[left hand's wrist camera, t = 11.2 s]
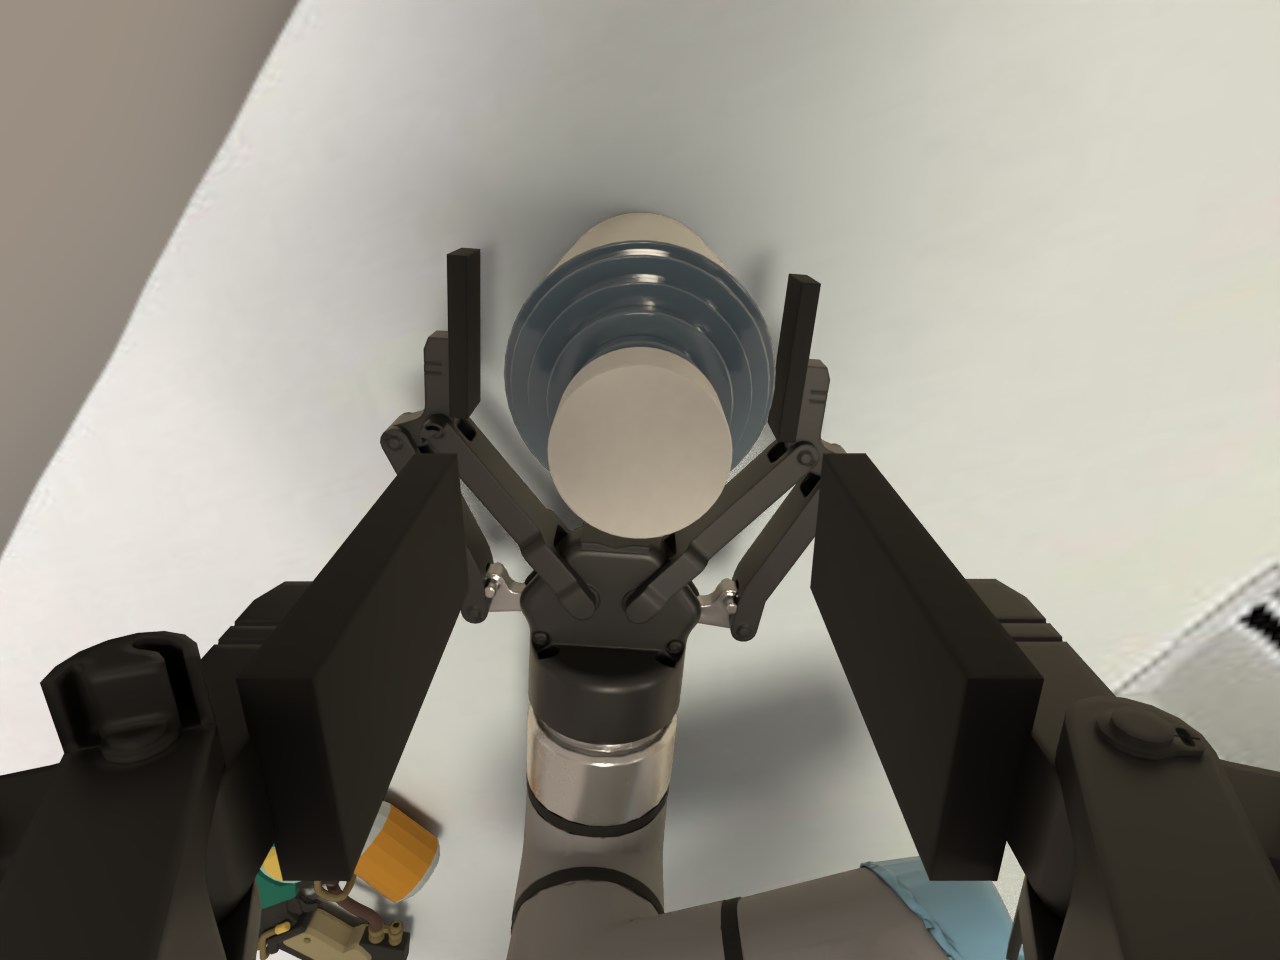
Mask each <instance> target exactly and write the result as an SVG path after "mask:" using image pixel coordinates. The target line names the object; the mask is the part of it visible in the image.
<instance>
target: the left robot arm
mask: <svg viewBox="0 0 1280 960" xmlns="http://www.w3.org/2000/svg"><path fill="white" fill-rule="evenodd" d="M469 588H470V586H469V575H468V565H467V554H466V543H465V532H464V522H463V511H462V500H461V490H460V479H459V468H458V458H457V453H414V455H413V456H412V457H411V458H410V460H409V461H408V462H407V464H406V465H405V466H404V467H403V469H402V470H401V471H400V472H399V474H398V475H397V476H396V477H395V479H394V480H393V481H392V482H391V484H390V485H389V486H388V487H387V489H386V490H385V491H384V492H383V494H382V495H381V496H380V498H379V499H378V500H377V501H376V503H375V504H374V505H373V506H372V508H371V509H370V510H369V511H368V513H367V514H366V515H365V516H364V518H363V519H362V520H361V521H360V523H359V524H358V525H357V526H356V528H355V529H354V530H353V532H352V533H351V534H350V535H349V537H348V538H347V539H346V540H345V542H344V543H343V544H342V545H341V547H340V548H339V549H338V550H337V552H336V553H335V554H334V555H333V557H332V558H331V559H330V560H329V562H328V563H327V564H326V566H325V567H324V568H323V569H322V571H321V572H320V573H319V574H318V576H317V577H316V578H315V579H314V581H285V582H283V583H282V584H280V585H278V586H277V587H275V588H273V589H272V590H270V591H268V592H267V593H265V594H263V595H262V596H260V597H258V598H257V599H255V600H254V601H253V602H252V603H251V604H250V605H249V606H248V607H247V609H246V610H245V611H244V612H243V613H242V614H241V615H240V616H239V618H238V619H237V620H236V621H235V625H234V626H230V628H229V629H228V630H227V631H226V632H225V633H224V634H223V635H222V636H221V638H220V639H219V640H218V641H219V642H218V645H213V647H212V648H211V649H210V650H209V651H208V652H207V653H206V654H205V655H204V657H203V658H202V659H201V658H200V654H199V650H198V646H197V643H196V642H194V641H193V640H192V639H190V638H189V637H188V636H186V635H184V634H179V633H173V632H167V631H158V632H144V633H135V634H131V635H127V636H123V637H119V638H115V639H110V640H107V641H105V642H102V643H100V644H97V645H95V646H92V647H90V648H87V649H85V650H82V651H80V652H78V653H76V654H75V655H73V656H72V657H70V658H68V659H67V660H65V661H64V662H62V663H60V664H59V665H57V666H55V667H54V669H53V670H52V671H51V672H50V673H49V674H48V675H47V676H46V677H45V678H44V679H43V680H42V681H41V682H40V685H41V687H42V690H43V693H44V696H45V699H46V702H47V705H48V708H49V710H50V713H51V716H52V719H53V722H54V725H55V728H56V731H57V733H58V736H59V739H60V742H61V745H62V748H63V751H64V755H63V757H62V759H61V761H60V763H57V764H54V765H49V766H45V767H40V768H35V769H30V770H25V771H20V772H16V773H11V774H6V775H1V776H0V960H256V953H257V945H258V937H259V929H260V921H261V913H262V907H261V901H260V894H259V889H258V885H257V881H256V875H257V874H258V872H259V870H260V868H261V866H262V864H263V863H264V861H265V859H266V857H267V855H268V853H269V852H270V850H271V848H272V846H273V844H274V845H275V850H276V854H277V858H278V863H279V867H280V871H281V875H282V880H283V881H350V880H351V878H352V875H353V873H354V871H355V868H356V866H357V863H358V861H359V858H360V856H361V853H362V851H363V848H364V846H365V844H366V841H367V839H368V836H369V834H370V831H371V829H372V826H373V824H374V821H375V819H376V817H377V814H378V812H379V809H380V807H381V804H382V802H383V799H384V797H385V794H386V792H387V790H388V787H389V785H390V782H391V780H392V777H393V775H394V772H395V770H396V767H397V765H398V763H399V760H400V758H401V755H402V753H403V750H404V748H405V745H406V743H407V740H408V738H409V736H410V733H411V731H412V728H413V726H414V723H415V721H416V718H417V716H418V713H419V711H420V709H421V706H422V704H423V701H424V699H425V696H426V694H427V691H428V689H429V686H430V684H431V682H432V679H433V677H434V674H435V672H436V669H437V667H438V664H439V662H440V659H441V657H442V654H443V652H444V650H445V647H446V645H447V642H448V640H449V637H450V635H451V632H452V630H453V627H454V625H455V623H456V620H457V618H458V615H459V613H460V610H461V608H462V605H463V603H464V600H465V598H466V596H467V593H468V591H469ZM810 588H811V591H812V593H813V596H814V598H815V600H816V603H817V605H818V608H819V610H820V613H821V615H822V618H823V620H824V623H825V625H826V627H827V630H828V632H829V635H830V637H831V640H832V642H833V645H834V647H835V650H836V652H837V654H838V657H839V659H840V662H841V664H842V667H843V669H844V672H845V674H846V677H847V679H848V682H849V684H850V686H851V689H852V691H853V694H854V696H855V699H856V701H857V704H858V706H859V709H860V711H861V713H862V716H863V718H864V721H865V723H866V726H867V728H868V731H869V733H870V736H871V738H872V740H873V743H874V745H875V748H876V750H877V753H878V755H879V758H880V760H881V763H882V765H883V767H884V770H885V772H886V775H887V777H888V780H889V782H890V785H891V787H892V790H893V792H894V794H895V797H896V799H897V802H898V804H899V807H900V809H901V812H902V814H903V817H904V819H905V821H906V824H907V826H908V829H909V831H910V834H911V836H912V839H913V841H914V844H915V846H916V848H917V851H918V853H919V856H920V858H921V861H922V863H923V866H924V868H925V871H926V873H927V875H928V878H929V880H930V881H997V880H998V875H999V871H1000V867H1001V863H1002V858H1003V854H1004V850H1005V845H1006V841H1007V842H1008V844H1009V846H1010V847H1011V849H1012V851H1013V853H1014V855H1015V857H1016V858H1017V860H1018V862H1019V864H1020V866H1021V868H1022V869H1023V871H1024V873H1025V877H1024V881H1023V885H1022V889H1021V893H1020V897H1019V901H1018V905H1017V909H1016V913H1015V917H1014V921H1013V925H1012V929H1011V933H1010V937H1009V941H1008V948H1007V954H1006V959H1007V960H1018V956H1019V952H1020V948H1021V944H1023V951H1024V959H1025V960H1280V772H1277V771H1272V770H1267V769H1262V768H1258V767H1253V766H1248V765H1243V764H1238V763H1233V762H1229V761H1225V760H1221V759H1219V757H1218V755H1217V753H1216V752H1215V750H1214V749H1213V748H1212V747H1211V745H1210V744H1209V743H1208V742H1207V740H1206V739H1205V738H1204V737H1203V735H1202V734H1200V733H1199V732H1198V731H1196V730H1195V729H1193V728H1192V727H1191V726H1189V725H1188V724H1187V723H1185V722H1184V721H1182V720H1181V719H1180V718H1178V717H1176V716H1173V715H1171V714H1169V713H1167V712H1165V711H1163V710H1161V709H1158V708H1156V707H1154V706H1152V705H1148V704H1145V703H1141V702H1138V701H1134V700H1130V699H1127V698H1121V697H1116V696H1115V695H1114V694H1113V693H1112V692H1111V691H1110V689H1109V688H1108V687H1107V686H1106V685H1105V684H1104V683H1103V682H1102V681H1101V679H1100V678H1099V677H1098V676H1097V675H1096V674H1095V673H1094V672H1093V671H1092V670H1091V668H1090V667H1089V666H1088V665H1087V664H1086V663H1085V662H1084V661H1083V660H1082V658H1081V657H1080V656H1079V655H1078V654H1077V653H1076V652H1075V651H1074V650H1073V648H1072V647H1071V646H1070V645H1069V644H1068V643H1067V642H1063V641H1062V636H1061V635H1060V634H1059V633H1058V632H1057V631H1056V630H1055V629H1054V627H1053V626H1052V625H1051V624H1050V623H1046V619H1045V617H1044V616H1043V615H1042V614H1041V613H1040V612H1039V611H1038V610H1037V609H1036V607H1035V606H1034V605H1033V604H1032V603H1031V602H1030V601H1029V600H1028V599H1027V598H1026V597H1025V596H1023V595H1021V594H1020V593H1018V592H1016V591H1015V590H1013V589H1011V588H1010V587H1008V586H1006V585H1005V584H1003V583H1001V582H1000V581H998V580H996V579H965V578H964V577H963V576H962V574H961V573H960V572H959V571H958V569H957V568H956V567H955V566H954V564H953V563H952V562H951V560H950V559H949V558H948V557H947V555H946V554H945V553H944V552H943V550H942V549H941V548H940V547H939V545H938V544H937V543H936V542H935V540H934V539H933V538H932V537H931V535H930V534H929V533H928V532H927V530H926V529H925V528H924V526H923V525H922V524H921V523H920V521H919V520H918V519H917V518H916V516H915V515H914V514H913V513H912V511H911V510H910V509H909V508H908V506H907V505H906V504H905V503H904V501H903V500H902V499H901V498H900V496H899V495H898V494H897V492H896V491H895V490H894V489H893V487H892V486H891V485H890V484H889V482H888V481H887V480H886V479H885V477H884V476H883V475H882V474H881V472H880V471H879V470H878V469H877V467H876V466H875V465H874V464H873V462H872V461H871V460H870V458H869V457H868V456H867V455H866V453H823V458H822V468H821V479H820V490H819V500H818V511H817V522H816V532H815V543H814V554H813V565H812V575H811V586H810Z"/></svg>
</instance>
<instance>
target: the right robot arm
mask: <svg viewBox="0 0 1280 960" xmlns="http://www.w3.org/2000/svg"><path fill="white" fill-rule="evenodd" d="M820 286H821V284H820V283H819V282H817V281H815V280H814V279H812V278H811V277H809V276H808V275H800V274H789V277H788V284H787V291H786V298H785V305H784V312H783V319H782V326H781V333H780V340H779V347H778V354H777V361H776V367H775V369H776V376H775V390H774V395H773V400H772V405H771V409H770V411H769V416H768V424H769V426H770V428H771V430H772V432H773V434H774V436H775V438H776V440H775V441H774V442H773V443H772V444H771V445H769V446H768V447H767V448H766V449H765V450H764V451H763V452H762V453H761V454H759V455H758V456H757V457H756V458H755V459H754V460H753V461H752V462H751V463H749V464H748V465H747V466H746V467H745V468H744V469H743V470H742V471H741V472H739V473H738V474H737V475H736V476H735V477H734V478H733V479H732V480H731V481H729V482H728V483H727V484H726V485H725V486H724V488H723V490H722V492H721V494H720V496H719V497H718V499H717V500H716V502H715V503H714V504H713V505H712V506H711V507H710V509H709V510H708V511H707V512H706V513H705V514H703V515H702V516H701V517H700V518H699V519H697V520H696V521H695V522H693V523H692V524H690V525H688V526H687V527H685V528H683V529H681V530H679V531H676V532H673V533H671V534H668V535H664V536H663V537H662V538H661V537H653V538H627V537H621V536H616V535H612V534H609V533H607V532H604V531H601V530H599V529H597V528H595V527H593V526H591V525H590V524H588V523H583V527H581V528H577V529H575V530H572V531H571V532H570V531H569V530H568V528H567V527H566V526H565V525H564V524H563V522H562V521H561V520H560V519H559V518H558V516H557V515H556V514H555V513H554V512H553V511H552V510H548V509H546V508H545V507H544V505H543V504H542V503H541V502H540V501H539V499H538V498H537V497H536V496H535V495H534V494H533V492H532V491H531V490H530V489H529V488H528V486H527V485H526V484H525V483H524V482H523V480H522V479H521V478H520V477H519V476H518V474H517V473H516V472H515V471H514V470H513V469H512V467H511V466H510V465H509V464H508V463H507V461H506V460H505V459H504V458H503V457H502V455H501V454H500V453H499V452H498V451H497V449H496V448H495V447H494V446H493V445H492V444H491V442H490V441H489V440H488V439H487V438H486V436H485V435H484V434H483V433H482V432H481V430H480V429H479V428H478V427H477V426H476V424H475V423H474V422H473V421H472V420H471V419H470V415H471V414H472V412H473V411H474V409H475V408H476V406H477V405H478V403H479V402H480V249H472V248H460V249H458V250H456V251H453V252H451V253H449V254H447V293H448V331H435V332H434V333H433V334H432V335H430V336H429V337H428V339H427V342H426V344H425V347H424V372H425V374H424V380H425V409H424V410H422V411H418V412H415V413H410V412H408V413H403V414H402V415H401V416H399V417H398V418H397V419H396V420H395V421H394V422H393V423H392V425H391V426H390V427H389V428H388V429H387V430H386V431H385V432H384V433H383V434H382V436H381V439H380V443H381V446H382V449H383V450H384V452H385V454H386V456H387V458H388V459H389V461H390V463H391V465H392V466H393V468H394V470H395V472H396V474H397V475H398V474H399V472H400V471H401V470H402V469H403V467H404V466H405V465H406V464H407V462H408V461H409V460H410V458H411V457H412V456H413V455H414V453H457V458H458V468H459V477H460V478H461V480H462V481H463V482H464V483H465V484H466V485H467V486H468V488H469V489H470V490H471V491H472V492H473V493H474V494H475V496H476V497H477V498H478V499H479V500H480V501H481V502H482V504H483V505H484V506H485V507H486V508H487V509H488V511H489V512H490V513H491V514H492V515H493V516H494V517H495V519H496V520H497V521H498V522H499V523H500V524H501V525H502V527H503V528H504V529H505V530H506V531H507V532H508V533H509V535H510V536H511V537H512V538H513V539H514V540H515V542H516V543H517V544H518V545H519V547H520V550H521V553H522V555H523V557H524V559H525V560H526V561H527V562H528V563H529V565H530V566H531V567H532V568H533V569H534V570H533V572H532V573H531V574H530V575H529V576H528V577H527V578H526V580H525V582H524V583H518V582H515V581H514V580H512V579H511V578H510V576H509V574H508V572H507V570H506V569H505V568H504V566H503V564H501V563H493V557H492V554H491V550H490V547H489V545H488V543H487V541H486V539H485V537H484V535H483V533H482V531H481V529H480V527H479V526H478V524H477V522H476V520H475V518H474V516H473V514H472V512H471V511H470V509H469V507H468V505H467V503H466V501H465V499H464V497H463V496H462V494H461V500H462V511H463V522H464V532H465V543H466V554H467V565H468V575H469V586H470V588H469V591H468V593H467V596H466V598H465V600H464V603H463V605H462V608H461V613H462V616H463V618H464V619H465V620H466V621H468V622H470V623H475V624H476V623H481V622H482V621H484V620H485V619H486V617H487V615H488V612H500V611H522V612H523V614H524V616H525V617H526V619H527V621H528V623H529V627H530V657H529V700H530V705H529V709H528V725H527V800H526V816H525V832H524V845H523V853H522V860H521V866H520V872H519V878H518V883H517V889H516V895H515V901H514V907H513V914H512V926H511V940H510V945H509V950H508V955H507V960H1007V959H1006V954H1007V948H1008V941H1009V937H1010V933H1011V929H1012V925H1013V921H1012V919H1011V917H1010V915H1009V913H1008V910H1007V908H1006V906H1005V904H1004V902H1003V900H1002V898H1001V896H1000V894H999V893H998V891H997V889H996V887H995V885H994V884H993V882H992V881H930V880H929V878H928V875H927V873H926V871H925V868H924V866H923V863H922V861H921V858H920V856H916V857H909V858H902V859H895V860H888V861H881V862H870V861H869V862H865V863H861V864H860V868H858V869H854V870H850V871H846V872H842V873H838V874H834V875H831V876H827V877H823V878H819V879H815V880H811V881H807V882H803V883H799V884H795V885H791V886H787V887H783V888H779V889H775V890H771V891H767V892H763V893H759V894H756V895H752V896H748V897H744V898H742V897H737V898H733V899H729V900H722V901H718V902H713V903H709V904H705V905H700V906H696V907H691V908H687V909H682V910H678V911H673V912H669V913H664V897H663V840H664V828H665V815H666V803H667V795H668V790H669V782H670V779H671V773H672V764H673V754H674V745H675V736H676V727H677V713H676V712H677V709H678V707H679V702H680V693H681V685H682V676H683V667H684V659H685V650H686V642H687V638H688V636H689V634H690V632H691V630H692V629H693V628H694V627H695V625H696V624H697V623H702V624H708V625H714V626H720V627H726V628H730V630H731V634H732V636H733V637H734V638H735V639H736V640H738V641H748V640H751V639H752V638H753V637H754V636H755V634H756V633H757V629H758V626H759V622H760V619H761V615H762V612H763V608H764V605H765V602H766V600H767V599H768V598H769V597H770V595H771V594H772V593H773V591H774V590H775V589H776V587H777V586H778V585H779V583H780V582H781V581H782V579H783V578H784V577H785V575H786V574H787V573H788V571H789V570H790V569H791V567H792V566H793V565H794V564H795V562H796V561H797V560H798V558H799V557H800V556H801V554H802V553H803V552H804V550H805V549H806V548H807V546H808V545H809V544H810V542H811V541H812V540H813V538H814V537H815V532H816V522H817V511H818V500H819V490H820V479H821V468H822V458H823V453H846V452H845V450H844V449H843V448H842V447H841V446H840V445H837V444H830V443H828V442H826V441H824V440H822V439H821V429H822V424H823V418H824V412H825V406H826V400H827V393H828V389H829V383H830V378H829V373H828V369H827V367H826V366H825V365H824V364H823V363H822V362H821V361H820V360H816V359H809V355H810V349H811V342H812V336H813V330H814V324H815V317H816V311H817V305H818V299H819V292H820ZM795 484H796V485H795ZM794 485H795V486H794ZM793 486H794V488H793V489H792V490H791V492H790V493H789V494H788V496H787V497H786V499H785V500H784V501H783V503H782V504H781V505H780V507H779V508H778V510H777V511H776V512H775V514H774V515H773V516H772V518H771V519H770V521H769V522H768V523H767V525H766V526H765V527H764V529H763V530H762V532H761V533H760V534H759V536H758V537H757V538H756V540H755V541H754V543H753V544H752V545H751V547H750V548H749V549H748V551H747V552H746V554H745V555H744V556H743V558H742V559H741V561H740V562H739V564H738V566H737V568H736V570H735V572H734V575H733V578H732V580H731V579H723V580H722V581H721V583H720V584H719V585H718V586H717V588H716V589H715V591H714V592H713V593H711V594H709V595H705V596H703V595H699V592H698V590H697V588H696V587H695V585H694V584H693V582H692V580H693V579H694V578H695V577H696V576H698V575H699V574H700V573H701V572H702V571H703V570H704V569H705V567H706V565H707V563H708V561H709V560H710V558H711V557H712V556H713V555H715V554H716V553H717V552H718V551H719V550H720V549H721V548H723V547H724V546H725V545H726V544H727V543H728V542H730V541H731V540H732V539H733V538H734V537H735V536H736V535H738V534H739V533H740V532H741V531H742V530H743V529H744V528H746V527H747V526H748V525H749V524H750V523H751V522H752V521H754V520H755V519H756V518H757V517H758V516H759V515H760V514H762V513H763V512H764V511H765V510H766V509H767V508H769V507H770V506H771V505H772V504H773V503H774V502H775V501H777V500H778V499H779V498H780V497H781V496H782V495H783V494H785V493H786V492H787V491H788V490H789V489H790V488H791V487H793ZM1018 960H1025V959H1024V951H1023V948H1022V945H1021V948H1020V952H1019V956H1018Z"/></svg>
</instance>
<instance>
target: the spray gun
mask: <svg viewBox="0 0 1280 960" xmlns="http://www.w3.org/2000/svg"><path fill="white" fill-rule="evenodd" d="M439 856H440V850H439V842H438V839H437V837H435V836H434V835H433V834H431V833H430V832H429V831H427V830H426V829H424V828H423V827H422V826H420V825H419V824H418V823H416V822H415V821H413V820H412V819H411V818H409V817H408V816H407V815H405V814H404V813H403V812H401V811H400V810H398V809H397V808H396V807H394V806H393V805H392V804H390V803H387V802H385V801H383V802H382V804H381V807H380V809H379V812H378V814H377V817H376V819H375V821H374V824H373V826H372V829H371V831H370V834H369V836H368V839H367V841H366V844H365V846H364V848H363V851H362V853H361V856H360V858H359V861H358V863H357V866H356V868H355V871H354V873H353V875H352V878H351V880H350V881H347V883H346V886H345V887H344V889H343V891H342V890H341V889H340V887H339V885H338V883H339V881H283V880H282V875H281V871H280V867H279V863H278V858H277V854H276V850H275V845H274V844H273V846H272V848H271V850H270V852H269V853H268V855H267V857H266V859H265V861H264V863H263V864H262V866H261V868H260V870H259V872H258V874H257V875H256V881H257V885H258V889H259V894H260V901H261V907H262V913H261V921H260V929H259V937H258V945H257V950H260V959H261V960H265V959H267V958H268V956H269V954H274V953H277V952H278V950H279V949H281V950H283V951H285V952H287V953H289V954H291V955H293V956H295V957H297V958H300V959H302V960H406V959H407V956H408V953H409V942H410V933H409V932H403V925H402V923H401V921H399V920H395V921H393V922H392V923H391V925H390V926H388V925H385V923H384V921H383V920H382V919H381V917H380V916H379V914H377V913H376V912H375V911H374V910H372V909H370V908H368V907H366V906H364V905H362V904H360V903H358V902H357V901H355V900H353V899H352V898H350V897H349V896H348V894H349V893H350V891H351V889H352V888H353V886H354V882H355V879H356V875H357V876H358V877H359V878H361V879H362V880H363V881H365V882H366V883H367V884H369V885H370V886H372V887H373V888H374V889H376V890H377V891H378V892H380V893H381V894H382V895H384V896H385V897H386V898H388V899H389V900H391V901H393V902H396V903H397V902H400V901H402V900H405V899H407V898H409V897H411V896H413V895H415V894H416V893H417V892H418V891H419V890H420V889H421V888H422V887H423V886H424V885H425V883H426V882H427V881H428V879H429V878H430V876H431V874H432V873H433V871H434V869H435V867H436V866H437V864H438V860H439ZM322 884H326V886H327V889H328V891H327V890H325V889H324V888H323V887H322ZM311 885H314V888H315V892H316V893H317V895H318V896H320V897H321V898H323V899H325V900H328V901H333V902H336V903H337V904H338V905H339V906H341V907H342V908H344V909H346V910H347V911H349V912H350V913H352V914H354V915H356V916H358V917H360V918H362V919H364V920H366V921H368V922H369V923H370V924H369V925H368V924H361V925H359V926H357V927H352V926H350V925H348V924H346V923H345V922H343V921H341V920H339V919H338V918H336V917H334V916H333V915H331V914H329V913H327V912H326V911H324V910H322V909H318V908H317V907H318V906H319V905H320V901H319V900H309V899H307V898H306V897H305V896H304V895H302V893H301V892H300V891H299V890H300V888H303V887H307V886H311ZM266 945H267V947H266Z"/></svg>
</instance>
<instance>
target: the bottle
mask: <svg viewBox="0 0 1280 960" xmlns="http://www.w3.org/2000/svg"><path fill="white" fill-rule="evenodd" d="M630 347H649V348H657V349H661V350H665V351H668V352H671V353H673V354H676V355H678V356H680V357H682V358H683V359H685V360H687V361H689V362H690V363H691V364H692V365H694V366H695V367H696V368H698V369H699V370H700V371H701V372H702V373H703V374H704V375H705V377H706V378H707V379H708V381H709V382H710V383H711V385H712V386H713V388H714V390H715V392H716V393H717V396H718V398H719V401H720V403H721V406H722V409H723V412H724V415H725V418H726V421H727V424H728V427H729V431H730V435H731V440H732V463H731V468H730V471H731V470H732V469H733V468H735V467H736V466H737V465H738V464H739V463H740V461H741V460H742V459H743V458H744V457H745V456H746V455H747V453H748V452H749V451H750V449H751V448H752V446H753V445H754V443H755V442H756V440H757V439H758V437H759V435H760V433H761V431H762V429H763V427H764V425H765V423H766V420H767V417H768V414H769V411H770V409H771V405H772V400H773V395H774V390H775V376H776V369H775V355H774V350H773V345H772V340H771V336H770V334H769V331H768V328H767V325H766V322H765V320H764V318H763V316H762V314H761V312H760V310H759V308H758V306H757V305H756V303H755V302H754V300H753V299H752V297H751V296H750V295H749V293H748V292H747V290H746V289H745V288H744V287H743V286H742V285H741V283H740V282H739V281H738V280H737V279H736V278H735V277H734V276H733V274H732V273H731V272H730V271H729V270H728V269H727V268H726V266H725V265H724V264H723V263H722V262H721V261H720V260H719V259H718V257H717V256H716V255H715V254H714V253H713V252H712V251H711V249H710V248H709V247H708V246H707V245H706V244H705V243H704V242H703V241H702V240H701V238H700V237H699V236H698V235H697V234H695V233H694V232H693V231H692V230H690V229H689V228H688V227H686V226H685V225H683V224H681V223H680V222H678V221H675V220H673V219H671V218H668V217H665V216H662V215H658V214H652V213H628V214H622V215H618V216H615V217H611V218H609V219H607V220H605V221H602V222H600V223H599V224H597V225H595V226H594V227H592V228H591V229H590V230H588V231H587V232H586V233H585V234H583V235H582V236H581V237H580V238H579V239H578V241H577V242H576V243H575V244H574V245H573V246H572V247H571V248H570V249H569V251H568V252H567V253H566V254H565V255H564V256H563V257H562V259H561V260H560V261H559V262H558V263H557V264H556V265H555V266H554V268H553V269H552V270H551V271H550V272H549V273H548V274H547V276H546V277H545V278H544V279H543V280H542V281H541V282H540V283H539V285H538V286H537V287H536V288H535V289H534V290H533V292H532V293H531V295H530V296H529V297H528V299H527V300H526V302H525V303H524V305H523V306H522V308H521V310H520V312H519V314H518V316H517V318H516V320H515V322H514V325H513V328H512V331H511V334H510V336H509V340H508V345H507V350H506V355H505V369H504V376H505V390H506V395H507V400H508V405H509V409H510V412H511V414H512V417H513V420H514V423H515V425H516V427H517V429H518V431H519V433H520V435H521V437H522V439H523V440H524V442H525V443H526V445H527V446H528V448H529V449H530V451H531V452H532V453H533V455H534V456H535V457H536V458H537V459H538V460H539V461H540V463H541V464H542V465H543V466H544V467H545V468H547V469H548V470H549V471H550V468H549V463H548V439H549V435H550V430H551V426H552V424H553V421H554V418H555V415H556V412H557V409H558V406H559V403H560V401H561V398H562V396H563V393H564V392H565V390H566V388H567V386H568V385H569V383H570V382H571V381H572V379H573V378H574V377H575V375H576V374H577V373H578V372H579V371H580V370H581V369H582V368H584V367H585V366H586V365H588V364H589V363H590V362H591V361H593V360H595V359H597V358H598V357H600V356H602V355H604V354H607V353H609V352H612V351H615V350H619V349H623V348H630Z"/></svg>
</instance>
